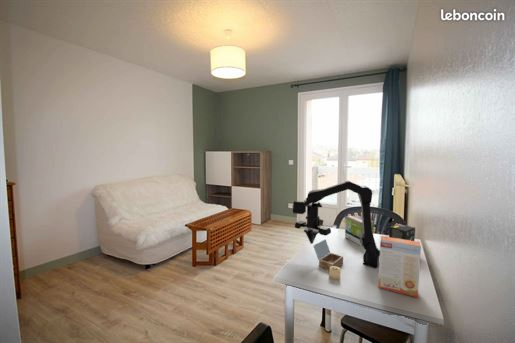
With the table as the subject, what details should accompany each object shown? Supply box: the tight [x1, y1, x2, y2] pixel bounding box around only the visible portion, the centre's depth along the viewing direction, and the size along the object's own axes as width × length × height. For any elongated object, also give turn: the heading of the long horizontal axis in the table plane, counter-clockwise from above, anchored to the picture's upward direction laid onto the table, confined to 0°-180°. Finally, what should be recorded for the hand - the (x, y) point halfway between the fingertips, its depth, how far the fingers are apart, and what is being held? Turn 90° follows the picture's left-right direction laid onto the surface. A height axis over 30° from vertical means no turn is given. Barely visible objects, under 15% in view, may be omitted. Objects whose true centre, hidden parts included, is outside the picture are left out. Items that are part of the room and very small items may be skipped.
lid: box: [313, 239, 331, 261], centre depth 122 cm, size 7×12×1 cm
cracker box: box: [378, 235, 422, 298], centre depth 97 cm, size 14×6×21 cm, turn 59°
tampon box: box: [388, 223, 416, 241], centre depth 136 cm, size 11×9×15 cm
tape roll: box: [328, 266, 342, 281], centre depth 107 cm, size 5×5×4 cm
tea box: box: [344, 214, 375, 246], centre depth 152 cm, size 15×10×15 cm
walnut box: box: [318, 252, 344, 271], centre depth 119 cm, size 7×12×4 cm, turn 137°
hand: (311, 243), depth 126 cm, fingers closed
